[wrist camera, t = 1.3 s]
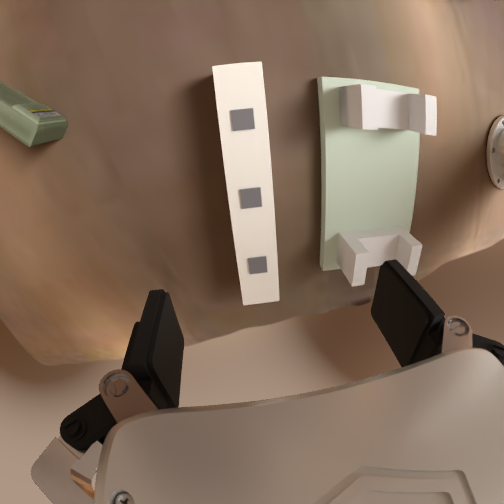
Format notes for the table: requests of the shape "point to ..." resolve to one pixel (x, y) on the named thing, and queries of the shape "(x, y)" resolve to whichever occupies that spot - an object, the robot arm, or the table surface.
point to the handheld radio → (29, 118)
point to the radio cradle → (370, 173)
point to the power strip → (248, 177)
